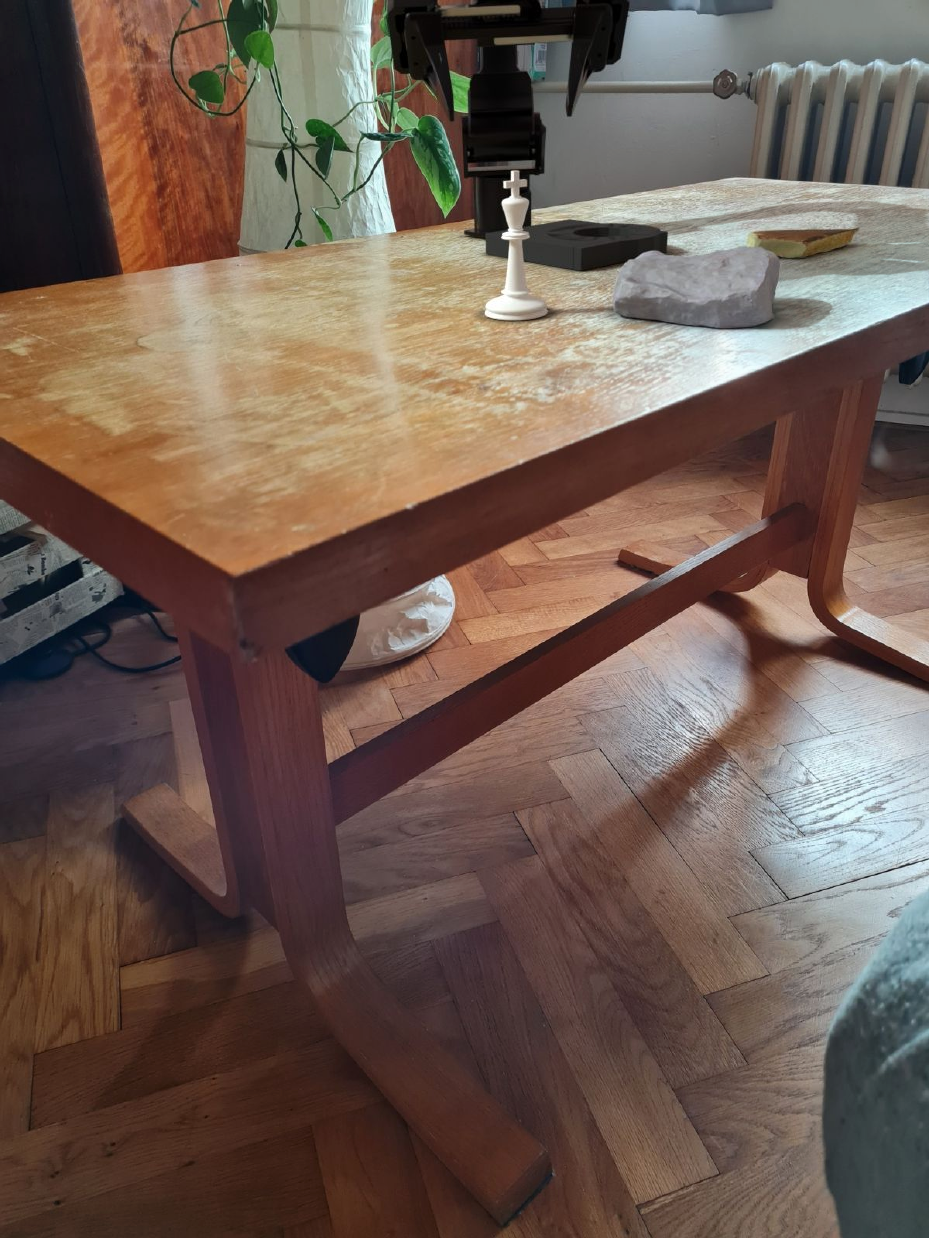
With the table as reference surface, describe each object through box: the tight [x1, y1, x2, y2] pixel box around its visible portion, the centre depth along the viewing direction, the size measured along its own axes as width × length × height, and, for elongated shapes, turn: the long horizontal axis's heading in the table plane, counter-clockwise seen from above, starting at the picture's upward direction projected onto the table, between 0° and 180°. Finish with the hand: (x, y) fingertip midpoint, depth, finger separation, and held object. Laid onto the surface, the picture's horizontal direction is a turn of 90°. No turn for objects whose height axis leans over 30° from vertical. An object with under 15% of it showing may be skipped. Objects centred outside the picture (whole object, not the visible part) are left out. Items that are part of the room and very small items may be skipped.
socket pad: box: [485, 218, 669, 272], centre depth 90 cm, size 15×14×2 cm
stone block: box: [612, 246, 781, 329], centre depth 67 cm, size 12×5×10 cm
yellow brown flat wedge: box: [745, 227, 860, 259], centre depth 86 cm, size 11×8×2 cm
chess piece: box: [484, 171, 549, 322], centre depth 67 cm, size 5×5×10 cm
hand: (510, 115), depth 69 cm, fingers open, 9 cm apart
